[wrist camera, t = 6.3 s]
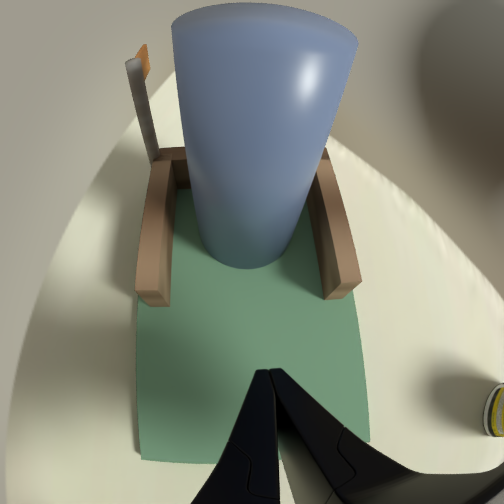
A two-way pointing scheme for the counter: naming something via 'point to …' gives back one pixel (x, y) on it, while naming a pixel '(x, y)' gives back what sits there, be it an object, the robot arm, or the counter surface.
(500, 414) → the supplement bottle
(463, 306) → the counter surface
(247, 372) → the felt mat
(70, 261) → the counter surface
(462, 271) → the counter surface
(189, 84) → the blue domed cylinder
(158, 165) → the wooden rack
